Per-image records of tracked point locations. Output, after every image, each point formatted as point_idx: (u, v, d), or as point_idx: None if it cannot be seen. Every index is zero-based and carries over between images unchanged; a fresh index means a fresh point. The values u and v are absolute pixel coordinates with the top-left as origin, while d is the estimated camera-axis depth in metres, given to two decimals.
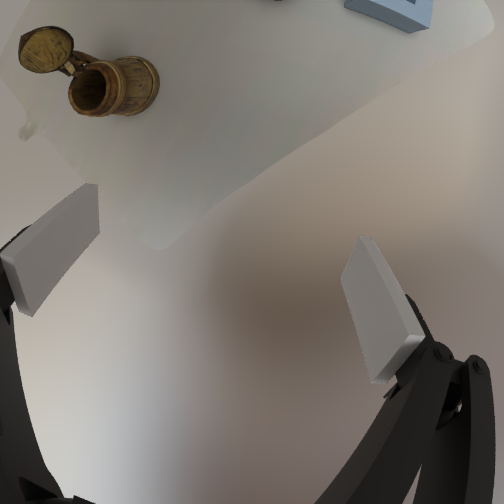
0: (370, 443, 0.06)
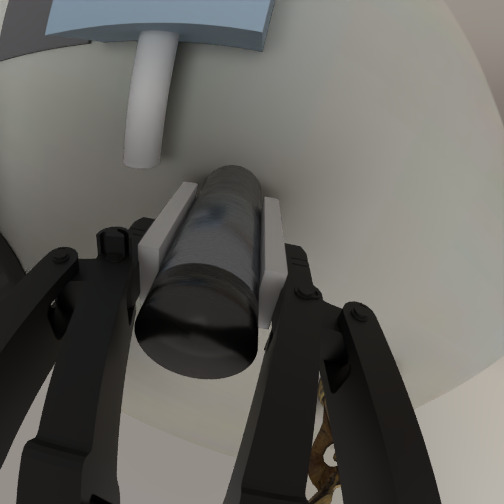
0: (255, 404, 0.07)
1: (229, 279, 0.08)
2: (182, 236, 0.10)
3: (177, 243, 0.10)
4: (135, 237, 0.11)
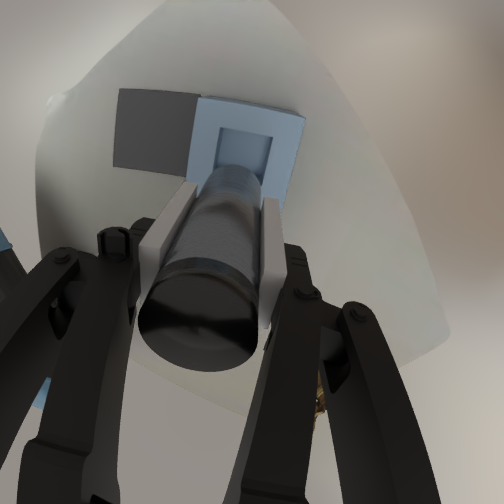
0: (255, 404, 0.07)
1: (230, 272, 0.08)
2: (185, 231, 0.10)
3: (179, 239, 0.10)
4: (136, 237, 0.11)
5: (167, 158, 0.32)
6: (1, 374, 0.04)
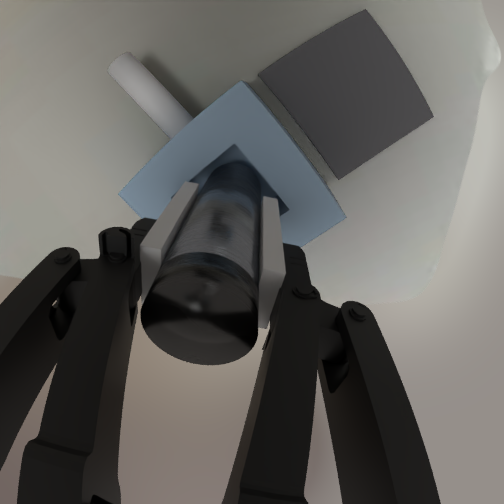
0: (253, 404, 0.07)
1: (231, 267, 0.09)
2: (186, 228, 0.11)
3: (181, 235, 0.10)
4: (137, 237, 0.11)
5: (305, 74, 0.17)
6: (2, 374, 0.04)
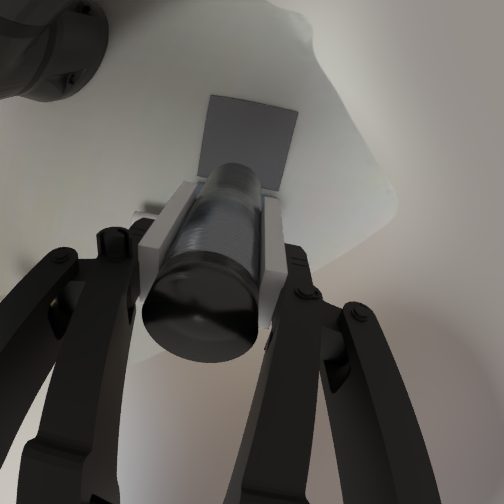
0: (255, 404, 0.07)
1: (231, 265, 0.09)
2: (187, 227, 0.11)
3: (182, 234, 0.10)
4: (135, 237, 0.11)
5: (216, 157, 0.33)
6: (1, 374, 0.04)
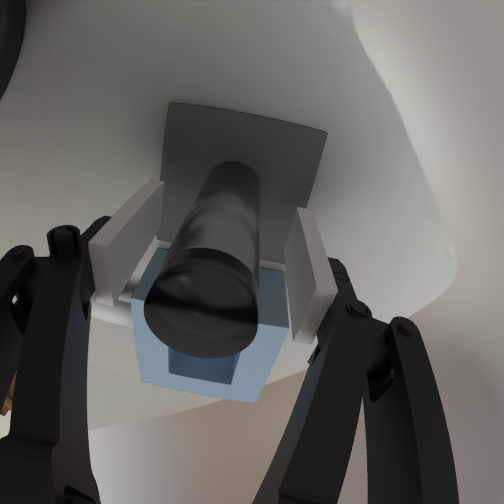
0: (298, 414, 0.07)
1: (231, 262, 0.09)
2: (188, 225, 0.11)
3: (183, 231, 0.11)
4: (92, 235, 0.10)
5: (184, 211, 0.20)
6: None
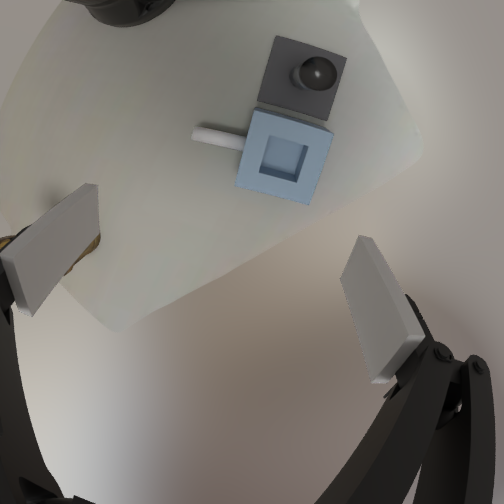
0: (370, 443, 0.06)
1: None
2: None
3: None
4: None
5: (276, 86, 0.34)
6: None
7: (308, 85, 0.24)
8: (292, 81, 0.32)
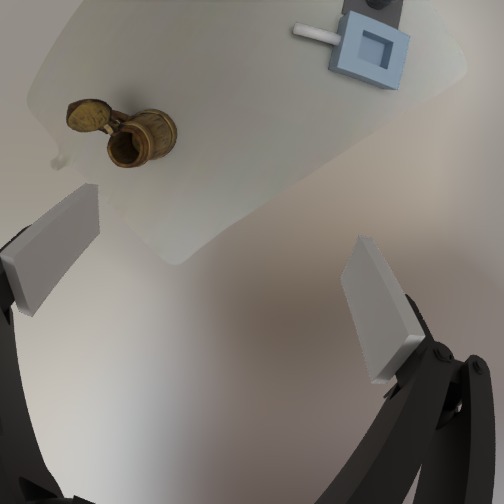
0: (370, 443, 0.06)
1: None
2: None
3: None
4: None
5: (356, 4, 0.32)
6: None
7: None
8: None
